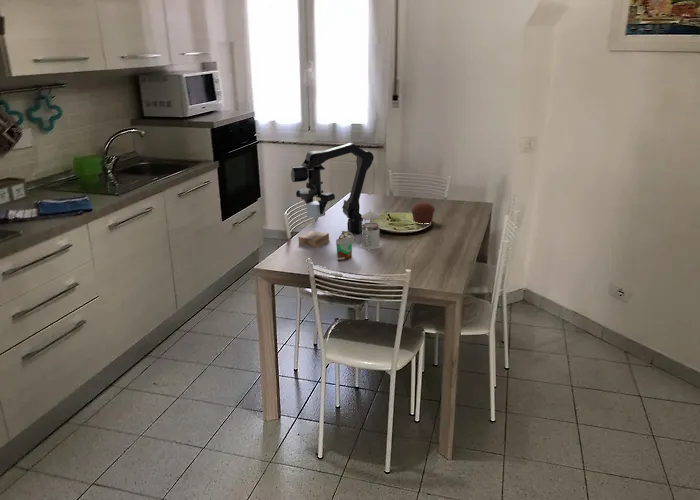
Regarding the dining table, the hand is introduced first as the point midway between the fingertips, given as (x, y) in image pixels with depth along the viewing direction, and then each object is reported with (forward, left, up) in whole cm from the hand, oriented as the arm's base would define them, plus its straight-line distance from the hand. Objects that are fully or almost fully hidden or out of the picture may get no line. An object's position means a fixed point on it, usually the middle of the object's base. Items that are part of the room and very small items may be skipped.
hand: (316, 213), depth 267 cm
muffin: (-32, -45, -13) cm, 57 cm away
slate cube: (0, 0, -1) cm, 1 cm away
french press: (-27, -4, -12) cm, 30 cm away
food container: (-27, +14, -13) cm, 32 cm away
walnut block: (-3, +6, -13) cm, 14 cm away
